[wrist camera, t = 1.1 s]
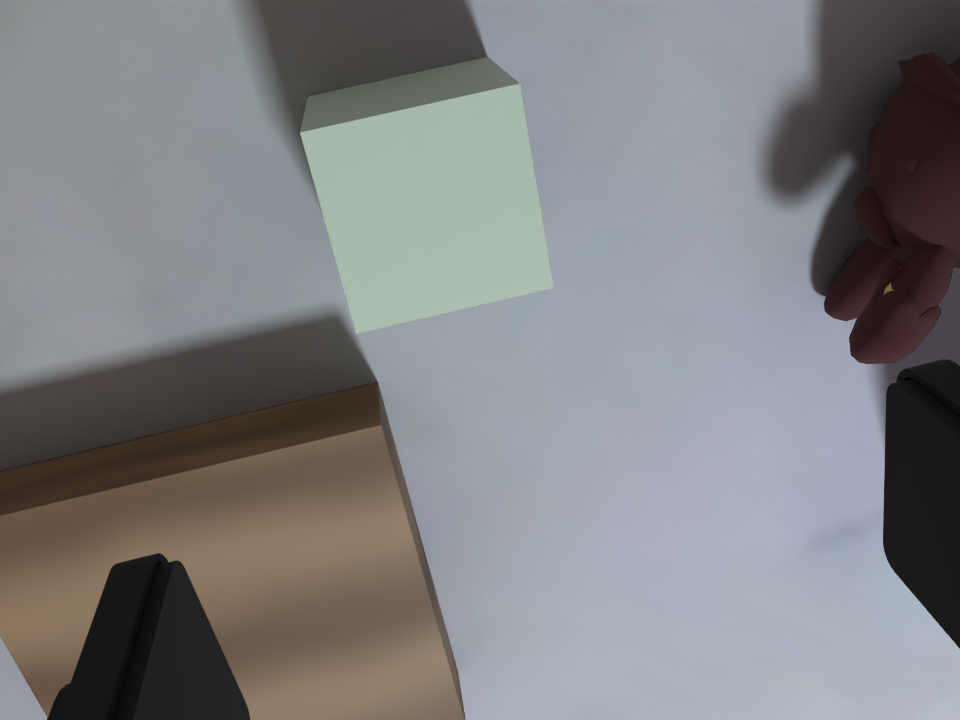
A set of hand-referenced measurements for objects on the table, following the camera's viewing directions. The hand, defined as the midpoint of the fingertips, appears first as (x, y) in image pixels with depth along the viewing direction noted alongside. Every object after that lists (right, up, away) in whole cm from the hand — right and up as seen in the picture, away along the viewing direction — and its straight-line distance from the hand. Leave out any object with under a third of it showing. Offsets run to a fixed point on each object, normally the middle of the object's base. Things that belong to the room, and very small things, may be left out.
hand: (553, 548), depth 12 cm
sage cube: (-3, +9, +16) cm, 19 cm away
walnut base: (-10, -6, +22) cm, 25 cm away
